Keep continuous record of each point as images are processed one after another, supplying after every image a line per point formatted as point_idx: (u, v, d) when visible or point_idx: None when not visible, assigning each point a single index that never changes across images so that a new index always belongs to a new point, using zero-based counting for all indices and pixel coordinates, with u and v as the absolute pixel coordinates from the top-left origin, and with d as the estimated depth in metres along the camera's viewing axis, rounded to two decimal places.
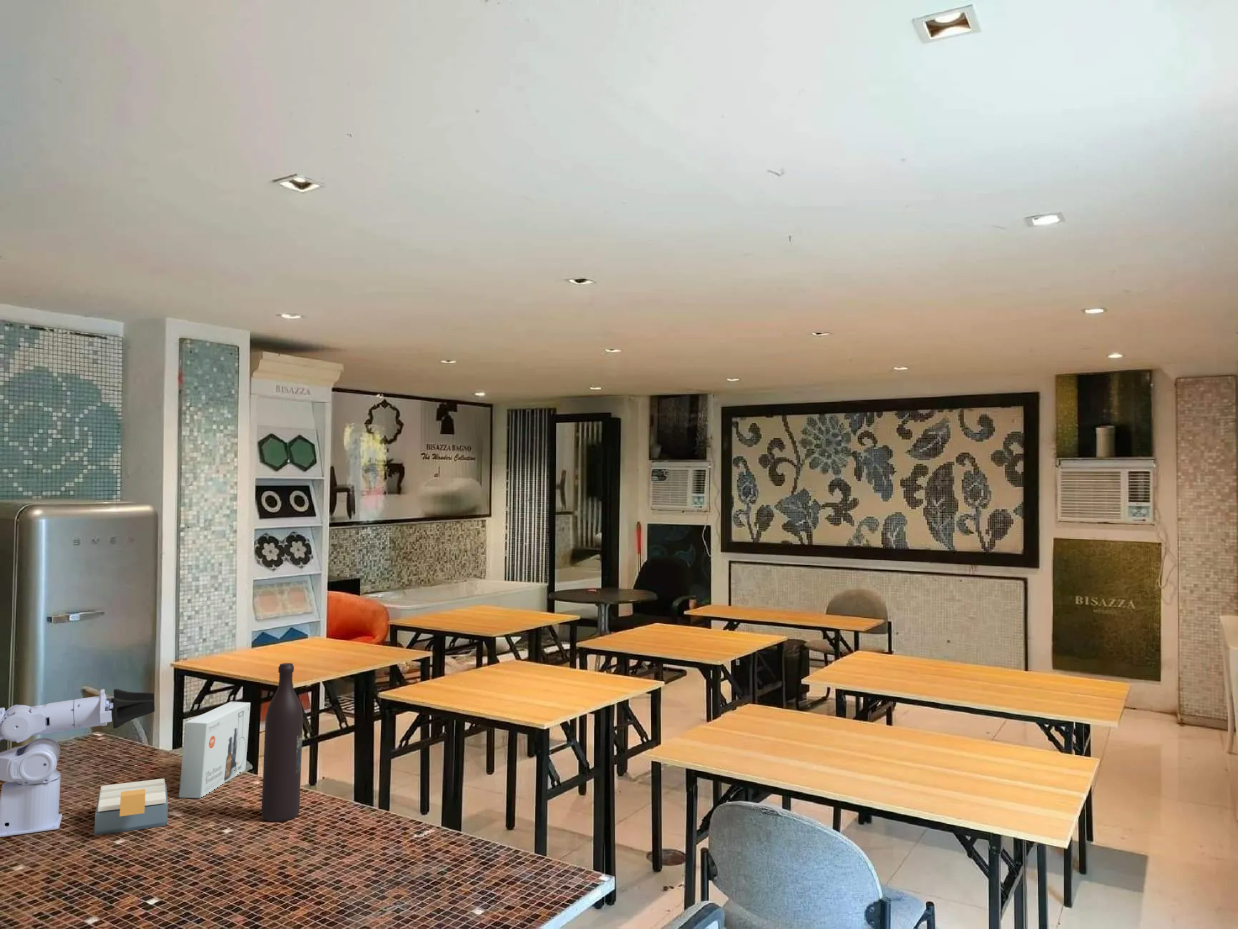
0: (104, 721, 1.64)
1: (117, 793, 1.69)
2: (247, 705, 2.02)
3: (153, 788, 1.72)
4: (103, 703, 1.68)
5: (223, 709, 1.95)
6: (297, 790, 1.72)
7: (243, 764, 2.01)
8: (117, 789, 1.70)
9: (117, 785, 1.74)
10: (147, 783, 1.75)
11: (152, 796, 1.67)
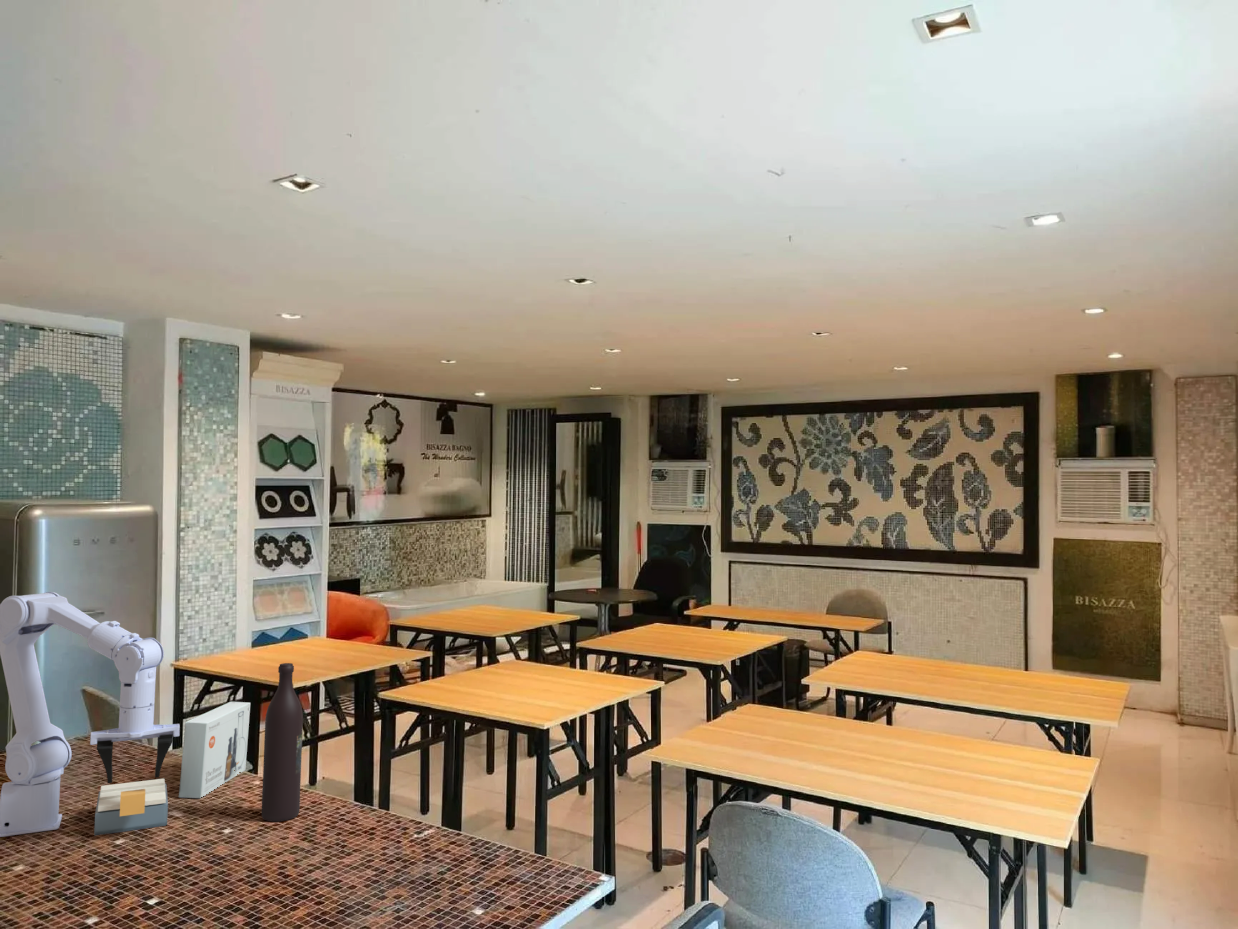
0: None
1: (117, 793, 1.69)
2: (247, 705, 2.02)
3: (153, 788, 1.72)
4: (114, 736, 1.58)
5: (223, 709, 1.95)
6: (297, 790, 1.72)
7: (243, 764, 2.01)
8: (117, 789, 1.70)
9: (117, 785, 1.74)
10: (147, 783, 1.75)
11: (152, 796, 1.67)
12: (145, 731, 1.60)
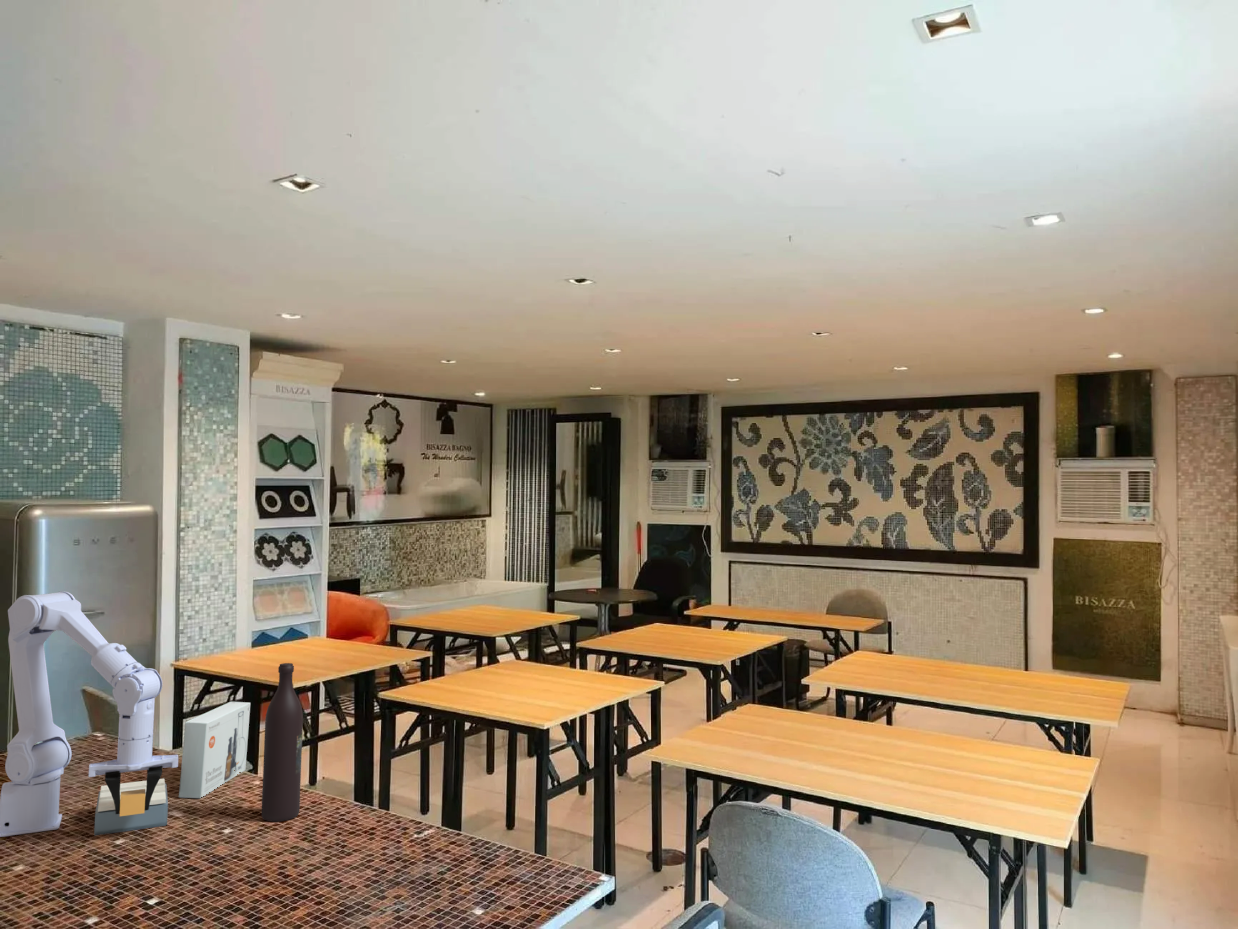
0: None
1: None
2: (247, 705, 2.02)
3: None
4: (112, 768, 1.58)
5: (223, 709, 1.95)
6: (297, 790, 1.72)
7: (243, 764, 2.01)
8: None
9: None
10: None
11: (152, 796, 1.67)
12: (143, 763, 1.60)
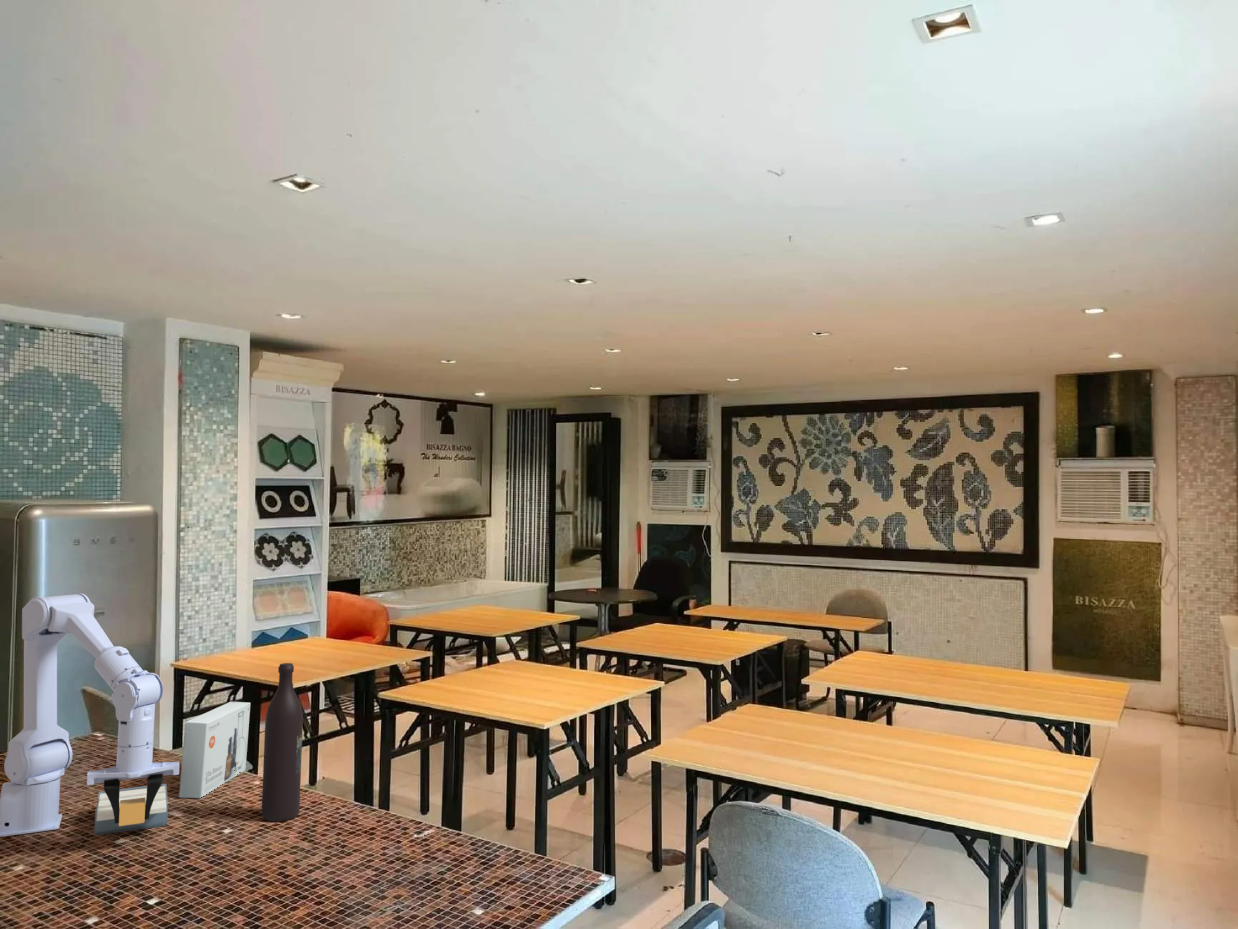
0: None
1: None
2: (247, 705, 2.02)
3: None
4: (111, 776, 1.53)
5: (223, 709, 1.95)
6: (297, 790, 1.72)
7: (243, 764, 2.01)
8: None
9: None
10: None
11: (152, 805, 1.63)
12: (144, 770, 1.55)
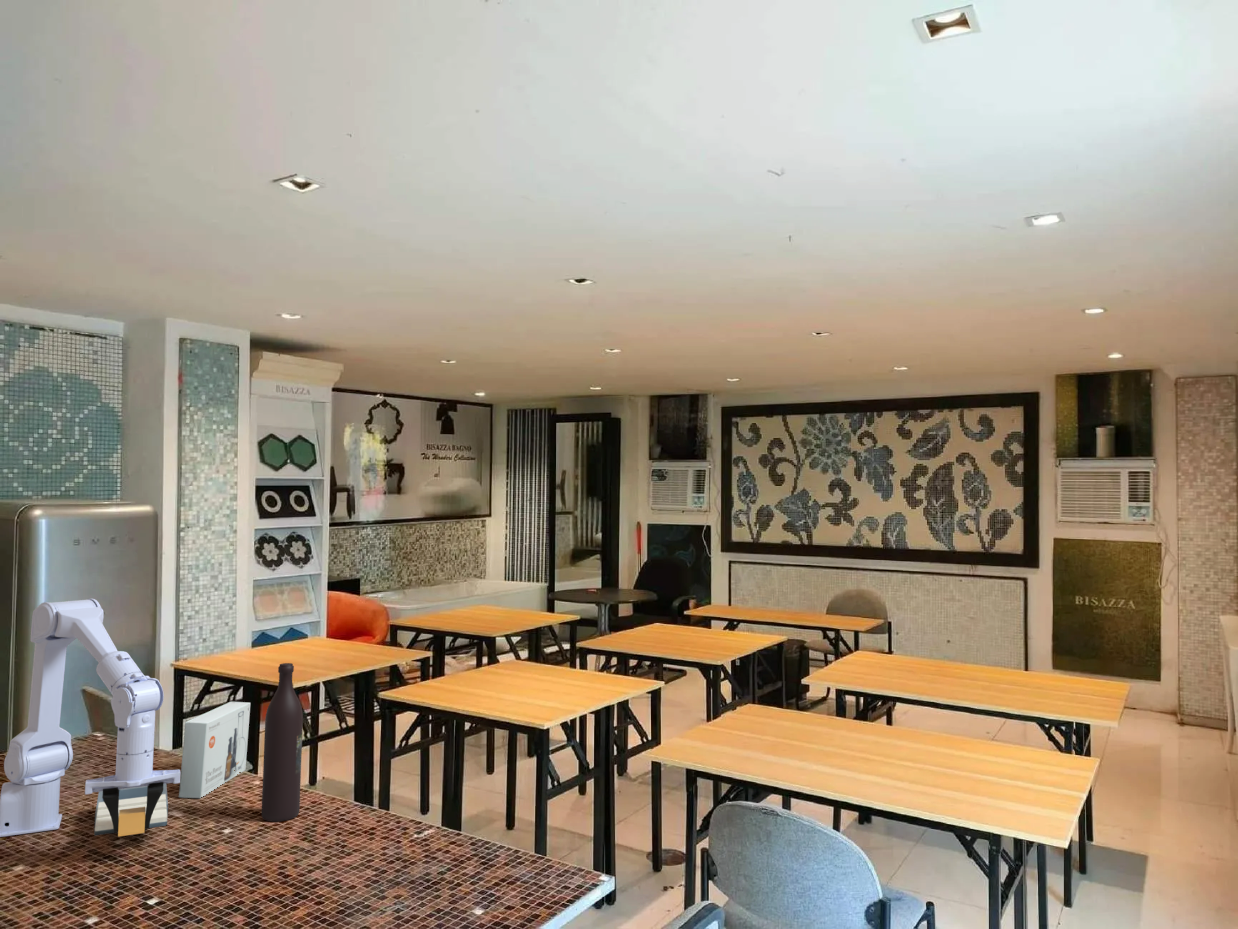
0: None
1: None
2: (247, 705, 2.02)
3: None
4: (110, 785, 1.48)
5: (223, 709, 1.95)
6: (297, 790, 1.72)
7: (243, 764, 2.01)
8: None
9: None
10: None
11: (153, 814, 1.58)
12: (144, 779, 1.50)
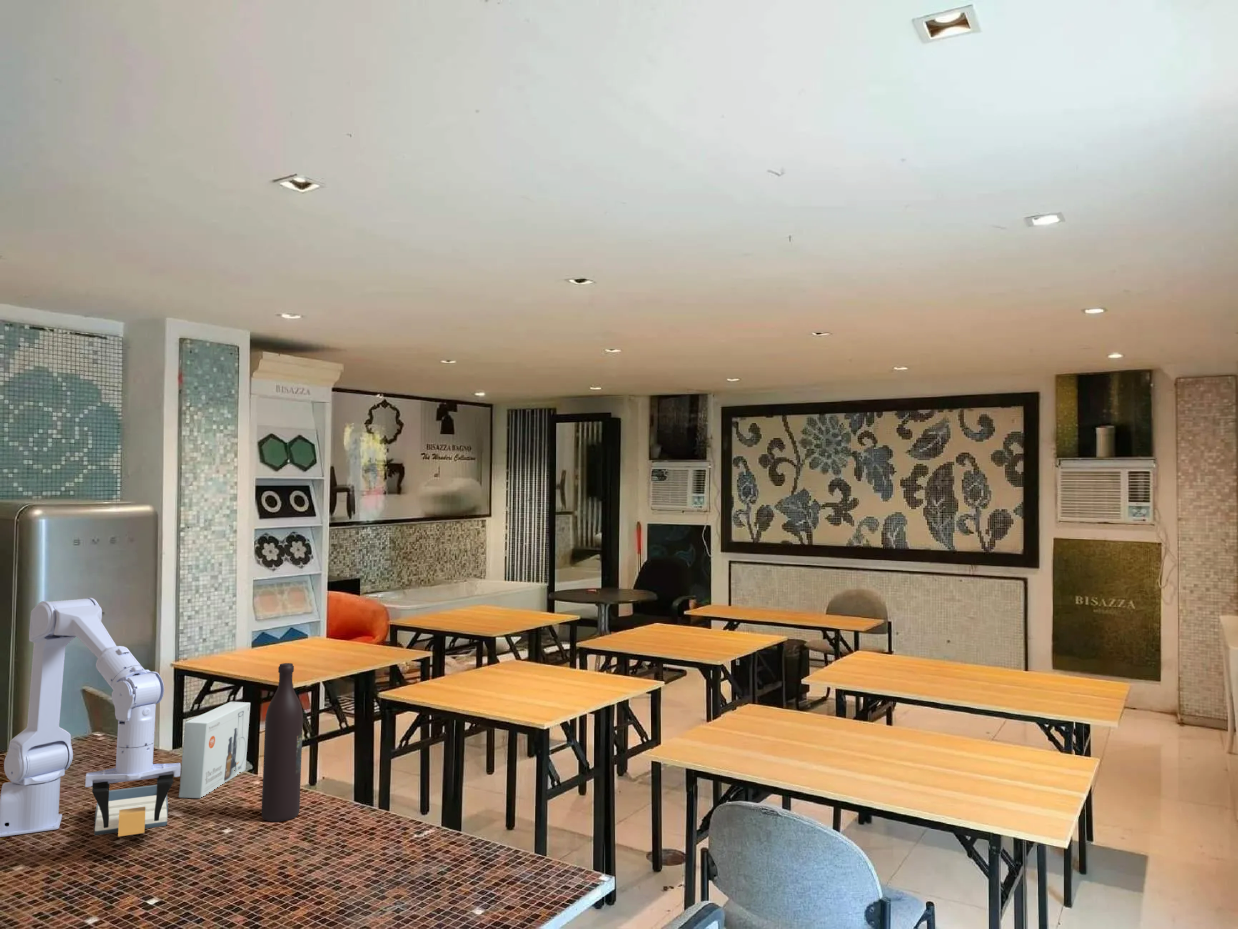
0: None
1: (115, 810, 1.59)
2: (247, 705, 2.02)
3: (154, 805, 1.62)
4: (110, 778, 1.49)
5: (223, 709, 1.95)
6: (297, 790, 1.72)
7: (243, 764, 2.01)
8: (115, 806, 1.61)
9: (116, 801, 1.64)
10: (147, 799, 1.66)
11: (153, 814, 1.58)
12: (144, 772, 1.50)
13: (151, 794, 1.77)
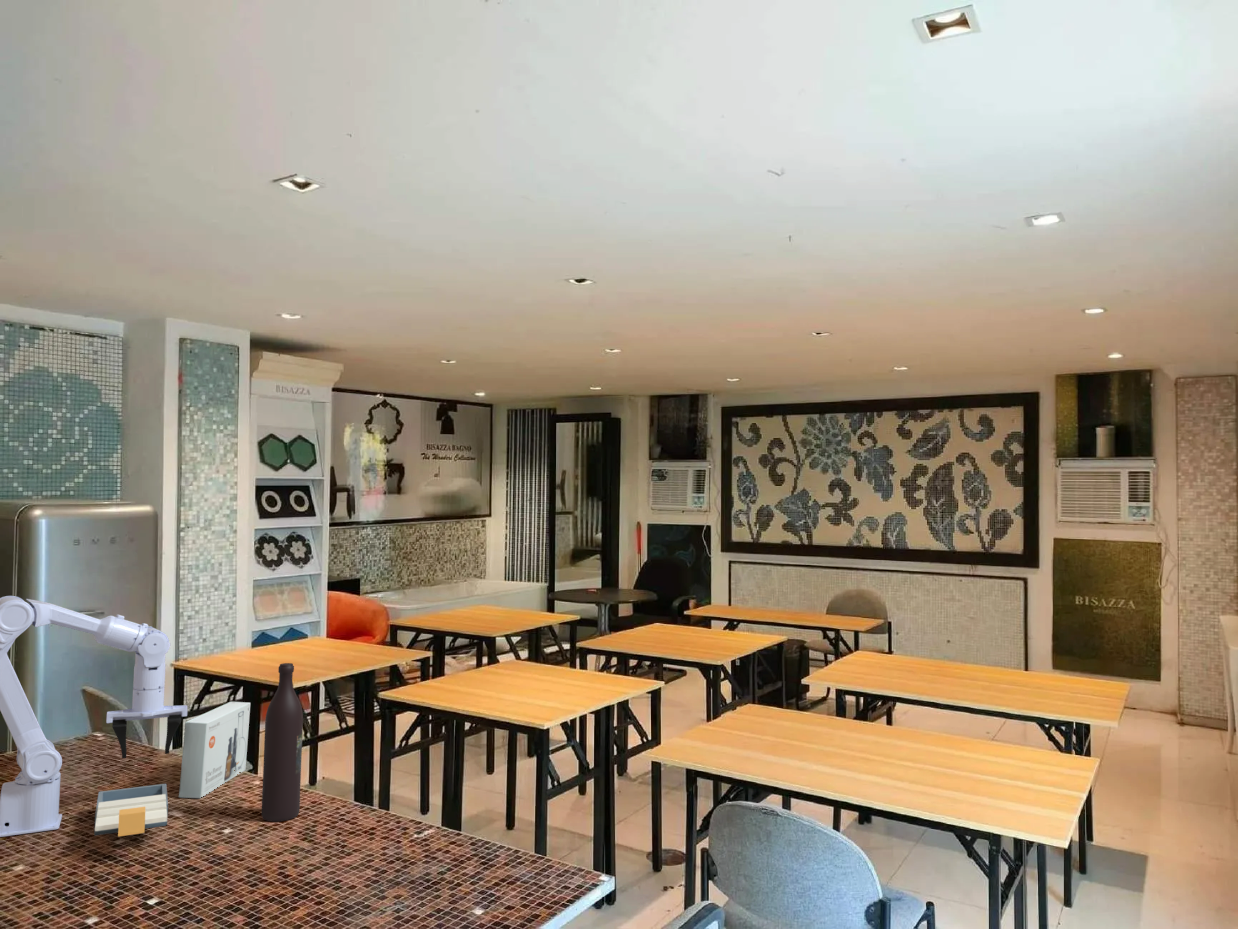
0: None
1: (115, 810, 1.59)
2: (247, 705, 2.02)
3: (154, 805, 1.62)
4: (128, 715, 1.74)
5: (223, 709, 1.95)
6: (297, 790, 1.72)
7: (243, 764, 2.01)
8: (115, 806, 1.61)
9: (116, 801, 1.64)
10: (147, 799, 1.66)
11: (153, 814, 1.58)
12: (156, 711, 1.76)
13: (151, 794, 1.77)
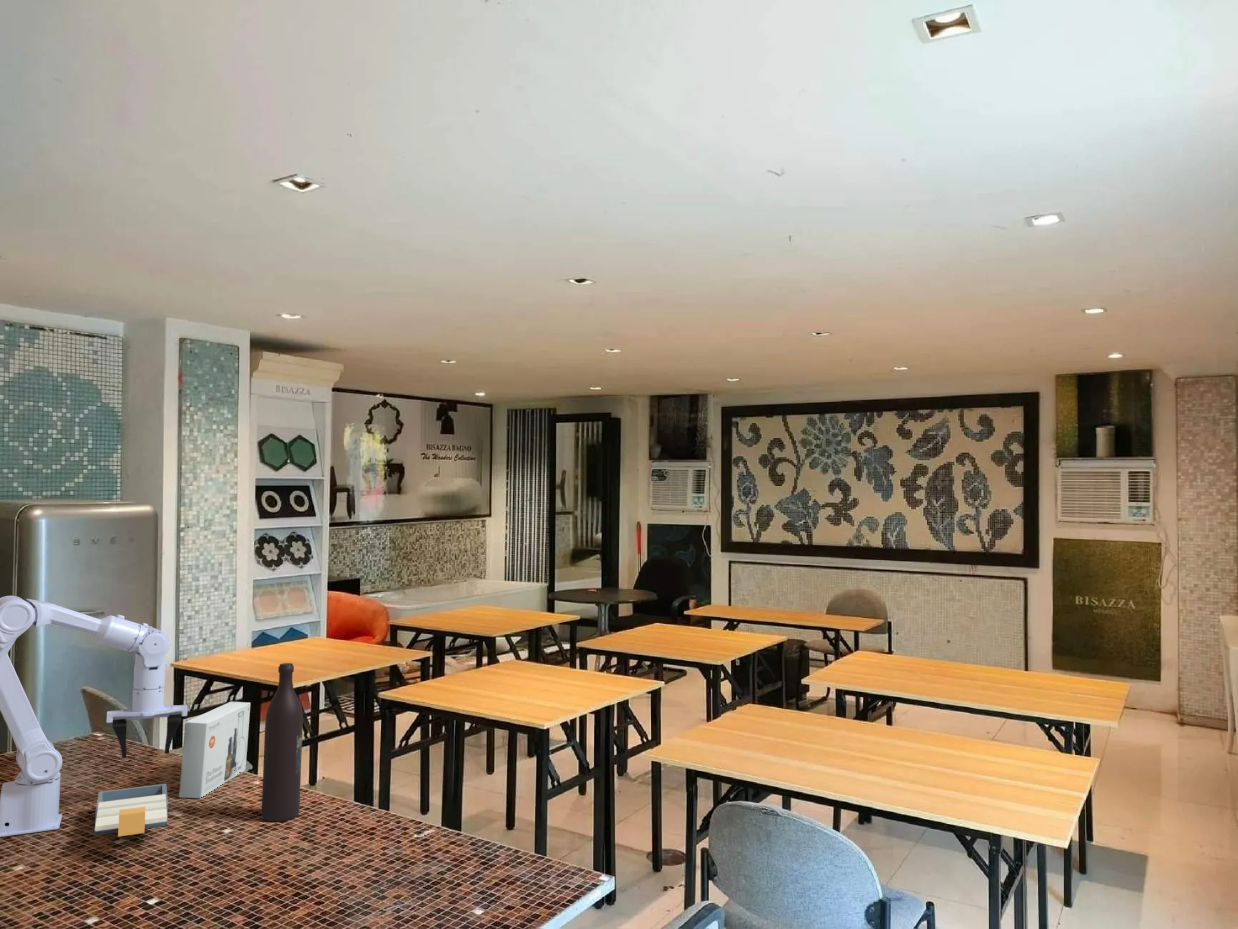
0: None
1: (115, 810, 1.59)
2: (247, 705, 2.02)
3: (154, 805, 1.62)
4: (128, 715, 1.74)
5: (223, 709, 1.95)
6: (297, 790, 1.72)
7: (243, 764, 2.01)
8: (115, 806, 1.61)
9: (116, 801, 1.64)
10: (147, 799, 1.66)
11: (153, 814, 1.58)
12: (156, 711, 1.76)
13: (151, 794, 1.77)
